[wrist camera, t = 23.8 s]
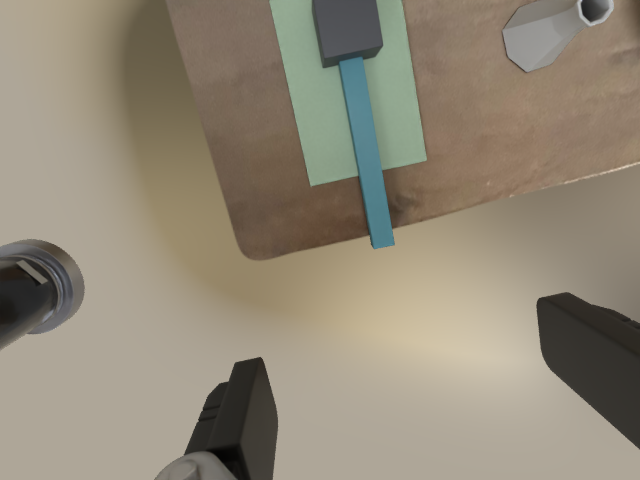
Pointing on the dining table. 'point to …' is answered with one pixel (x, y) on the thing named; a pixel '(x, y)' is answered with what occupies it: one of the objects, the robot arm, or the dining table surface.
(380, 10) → the mat
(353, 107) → the hammer
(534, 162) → the dining table surface
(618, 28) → the dining table surface
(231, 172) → the dining table surface
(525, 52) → the flask
